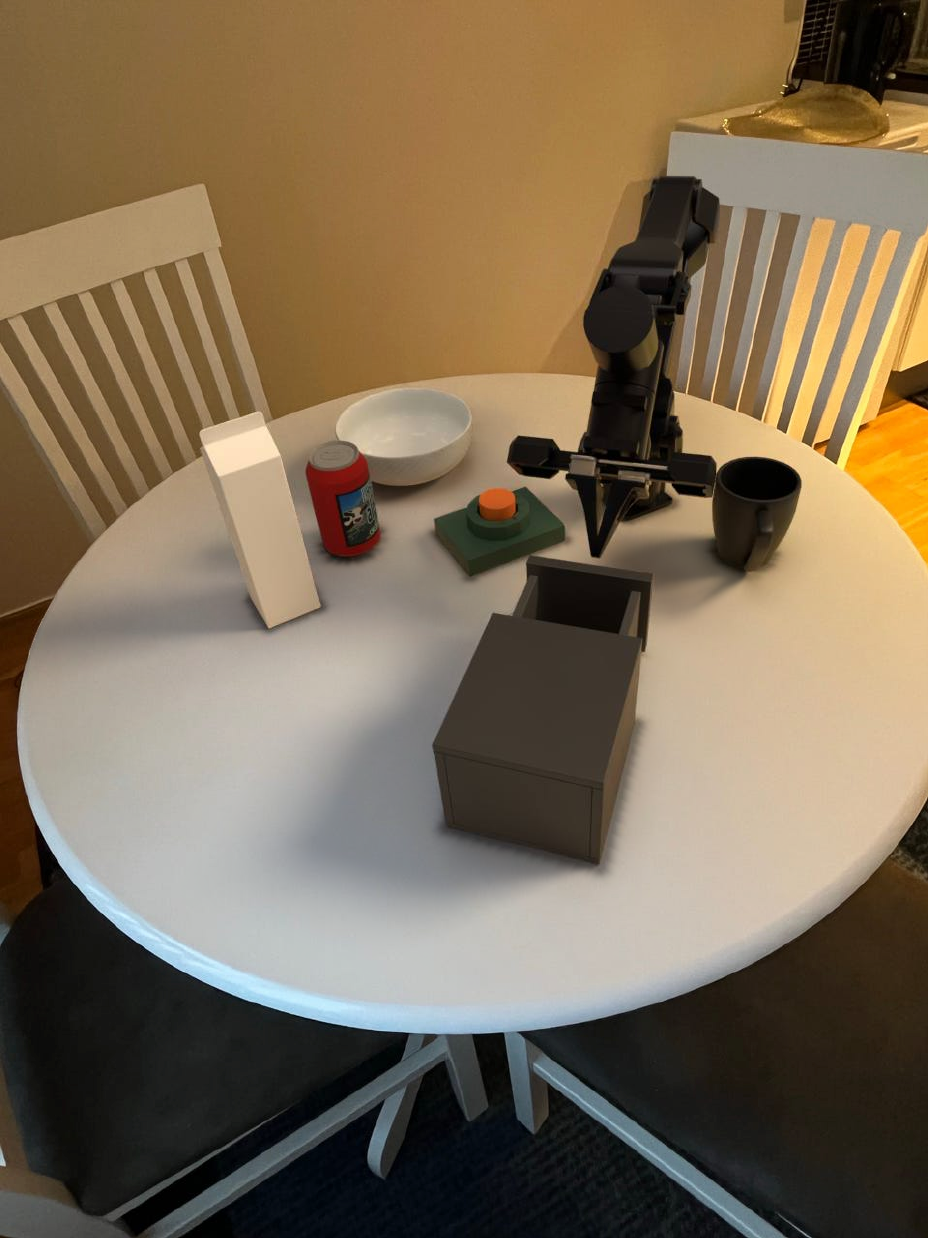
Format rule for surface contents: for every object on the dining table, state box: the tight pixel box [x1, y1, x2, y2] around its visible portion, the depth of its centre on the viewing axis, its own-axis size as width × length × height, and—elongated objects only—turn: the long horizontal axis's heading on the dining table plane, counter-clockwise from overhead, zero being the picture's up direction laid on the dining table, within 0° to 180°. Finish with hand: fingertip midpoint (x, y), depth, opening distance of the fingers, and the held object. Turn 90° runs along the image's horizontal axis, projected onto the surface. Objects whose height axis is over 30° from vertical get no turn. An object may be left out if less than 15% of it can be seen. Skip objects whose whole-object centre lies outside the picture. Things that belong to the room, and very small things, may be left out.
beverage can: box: [304, 440, 381, 557], centre depth 92 cm, size 7×7×12 cm
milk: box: [198, 411, 322, 629], centre depth 82 cm, size 6×6×22 cm
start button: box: [479, 487, 516, 521], centre depth 92 cm, size 4×4×2 cm
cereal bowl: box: [334, 387, 473, 487], centre depth 105 cm, size 17×17×7 cm
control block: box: [433, 486, 566, 577], centre depth 94 cm, size 12×9×4 cm
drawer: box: [511, 554, 655, 653], centre depth 75 cm, size 18×11×9 cm, turn 161°
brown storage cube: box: [432, 612, 642, 866], centre depth 67 cm, size 15×13×11 cm
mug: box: [711, 456, 803, 573], centre depth 85 cm, size 8×12×10 cm
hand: (595, 557), depth 77 cm, fingers closed
